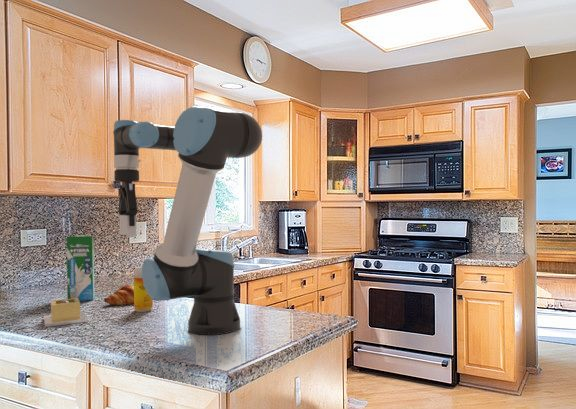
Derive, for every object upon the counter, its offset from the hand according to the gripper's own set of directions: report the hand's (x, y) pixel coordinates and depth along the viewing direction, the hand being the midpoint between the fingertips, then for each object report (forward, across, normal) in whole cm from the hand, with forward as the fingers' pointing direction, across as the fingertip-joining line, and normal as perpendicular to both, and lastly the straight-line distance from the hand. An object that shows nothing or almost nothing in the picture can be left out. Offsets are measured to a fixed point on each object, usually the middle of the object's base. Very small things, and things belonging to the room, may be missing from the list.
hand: (127, 235), depth 153 cm
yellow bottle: (+27, +11, -7) cm, 30 cm away
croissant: (+27, +28, -6) cm, 39 cm away
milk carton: (+27, +44, +10) cm, 53 cm away
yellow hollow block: (+26, +9, +18) cm, 33 cm away
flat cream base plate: (+27, +9, +18) cm, 33 cm away
